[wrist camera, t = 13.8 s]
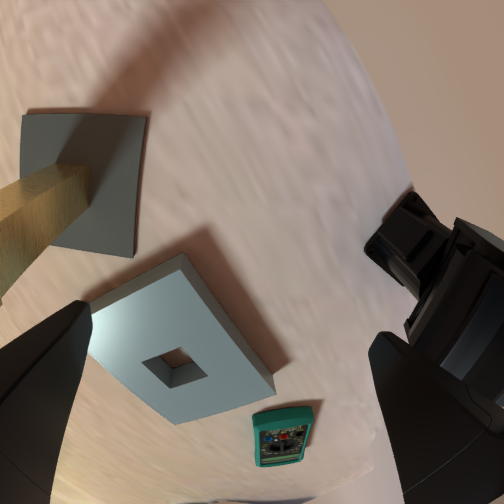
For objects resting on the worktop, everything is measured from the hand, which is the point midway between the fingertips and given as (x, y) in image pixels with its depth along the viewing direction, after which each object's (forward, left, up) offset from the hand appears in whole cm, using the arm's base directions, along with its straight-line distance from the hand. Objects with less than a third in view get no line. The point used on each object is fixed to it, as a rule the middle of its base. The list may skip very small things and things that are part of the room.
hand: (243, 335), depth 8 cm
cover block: (-4, +14, -13) cm, 19 cm away
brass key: (+10, +5, -13) cm, 17 cm away
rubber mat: (+10, +5, -13) cm, 17 cm away
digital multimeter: (-24, +23, -14) cm, 36 cm away
